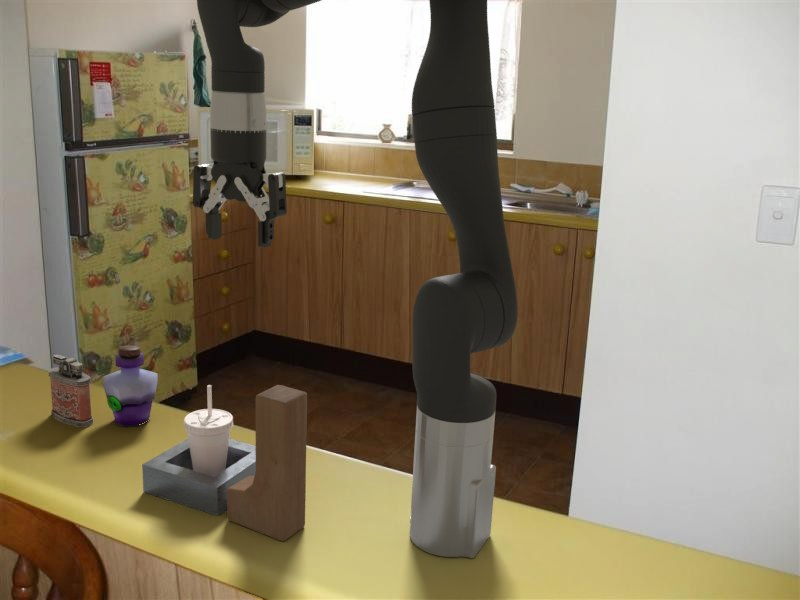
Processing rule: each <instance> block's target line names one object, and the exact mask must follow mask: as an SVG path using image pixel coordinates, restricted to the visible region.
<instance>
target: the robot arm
mask: <svg viewBox="0 0 800 600" xmlns="http://www.w3.org/2000/svg"><path fill="white" fill-rule="evenodd" d="M321 1H322V0H196V5H197V10H198V11H197V12H198V15H199V20H200V23H201V26H202V30H203V34H204V38H205V42H206V46H207V49H208V53H209V55H210V56H209V57H210V59H211V61H210V62H211V65H210V66H211V71H210V73H211V76H210V77H211V97H210V107H209V120H210V121H209V122H210V123H209V124H210V127H209V130H210V158H211V160H213V164H212V166H211V164H210V163H203V164H196V165H194V166H193V182H192V205H193V207H195V208H199V209H201V210H202V211H203V212H204V213H205V233H206V235H207V237H208V239H209V240H213V241H214V240H219V239H221V237H222V236H223V235H222V234H223V233H222V232H223V230H222V229H223V227H222V212H221V211H220V210H221V208H222V207H223V205H224V204H225V202H226V201H231V200H236V201H239V202H242V203H244V202H246V203H247V205H248V206H249V207H250V208H251V209H253V210H254V213H256V216H257V217H258V219H259V220H258V221H257V246H258V247H259V248H267V247H270V246H271V245H272V243H273V242H274V239H275V235H274V234H275V220H276V219H277V218H280V217H284V216H286V215H287V213H288V204H287V203H288V202H287V184H286V183H287V181H286V174H285V173H284V172H282V171H279V172H274V173H271V172H270V173H269V172H268V173H267V171H266V168H265V162H266V161H267V103H266V95H265V92H266V91H265V88H266V86H265V84H266V83H265V81H266V79H265V72H266V70H265V68H266V67H265V57H264V53H263V52H262V51H261V50H260V49H259V48H257V47H254V46H252V45H249V44H247V43H246V42H245V39H244V37H243V34H242V30H241V27H243V28H259V27H263V26H267V25H271V24H272V23H275V22H277V21H278V20H279V19H281V18H282V17H284V16H286V15H287V14H288V13H289V12H290V11H294V10H297V9H301V8H304V7H306V6H309V5H313V4H315V3H319V2H321ZM429 11H430V27H429V28H430V30H429V34H428V35H429V36H428V41H427V43H426V48H425V52H424V54H423V56H422V59H421V62H420V64H419V65H420V66H419V69H418V71H417V73H416V78H415V81H414V85H413V89H412V90H413V91H412V93H411V115H412V118H411V120H412V129H413V140H414V141H413V142H414V150H415V155H416V160H417V164H418V166H419V168H420V170H421V171H420V172H421V174H422V175H423V177H424V179H425V180H426V182H427V184H428V185H429V187H430V188H431V190H432V192H433V193H434V195H435V197H436V199H437V200H438V201H439V203H440V205H441V206H442V207H443V209H444V211H445V213H446V215H447V216H448V218H449V220H450V223H451V224H452V227H453V231H454V234H455V238H456V243H457V249H458V257H459V258H458V259H459V273H452V274H447V275H446V274H445V275H441V276H436V277H433V278H430V279H428V280H426V281H425V282H424V283H422V285H421V286H420V287H419V290H418V291H417V293H416V296H415V299H414V303H413V307H412V308H413V309H412V326H411V327H412V378H413V383H414V387H415V391H416V397H417V399H416V419H415V432H414V452H413V454H414V455H413V465H412V466H413V471H412V484H411V485H412V487H411V505H410V518H409V523H410V525H409V537H410V540H411V542H412V543H413V544H414V545H415V546H416V547H418V548H419V549H421V550H422V551H424V552H427V553H428V554H431V555H435V556H440V557H445V558H446V557H449V558H455V557H466V558H470V559H474V558H475V557H476V556H477V554H478V553H479V551H480V550H481V549H482V547H483V546H484V545H485V543H486V541H487V540H488V539H489V538H490V536H491V533H492V521H493V520H492V519H493V509H494V508H493V507H494V497H495V485H496V473H497V472H496V471H497V467H496V465H495V464H492V456H493V455H492V454H493V444H494V433H495V431H494V430H495V418H496V411H497V410H496V409H497V389H496V387H495V386H494V384H493V383H492V382H491V381H490V380H488V379H486V378H484V377H483V376H480V375H477V374H474V373H472V372H471V354H475V353H479V352H482V351H483V352H484V351H487V350H492V349H495V348H498V347H501V346H502V345H505V344H506V343H507V342H509V340H511V338H512V336H513V335H514V334H515V333H514V332H515V331H516V328H517V327H516V326H517V323H518V315H519V311H518V310H519V309H518V308H519V307H518V306H519V305H518V297H517V294H518V293H517V288H516V282H515V276H514V270H513V265H512V260H511V254H510V249H509V243H508V237H507V233H506V232H507V231H506V225H505V217H504V210H503V200H502V188H501V181H500V179H501V178H500V171H499V170H500V169H499V159H498V158H499V156H498V133H497V122H496V121H497V120H496V109H495V107H496V106H495V99H494V90H493V81H492V71H491V70H492V69H491V67H492V66H491V64H492V63H491V51H490V36H489V25H488V0H429ZM212 180H213V181H214V183H215V185H214V186H213V188H212V187H211V186H212ZM264 186H265V187H266V188H267V189H268V194H267V191H265V188H264ZM211 188H212V189H211Z"/></svg>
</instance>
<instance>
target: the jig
mask: <svg viewBox="0 0 800 600" xmlns="http://www.w3.org/2000/svg"><path fill="white" fill-rule="evenodd" d="M255 472H256V444H255V445H253V444H250V443H247V442H243V441H239V440H236V439H232V438H229V445H228V454H227V462H226V470H224V471H223V472H221V473H220V474H218V475H217V476H215V477H213V476H210V475H206V474H203V473H200V472H196V471H193V466H192V459H191V453H190V447H189V441H188V438H186V439H184V440H182V441H181V442H179V443H177V444H176V445H174V446H172V447H171V448H169V449H167V450H165V451H164V452H162V453H160V454H158V455H156V456H154V457H152V458H151V459H149V460H148V461H146V462H144V463H142V486H143V487H142V488H143V493H145V494H148V495H151V496H153V497H154V496H155V497H157V498H160V499H164V500H166V501H169V502H173V503H176V504H178V505H183V506H186V507H188V508H192V509H195V510H197V511H201V512H204V513H207V514H210V515H213V516H216V517H219V516H220V515H221V514H223V513H225V512H227V489H228V488H229V487H231V486H233V485H234V484H236V483H238V482H239V481H241V480H243V479H244V478H246V477H248V476H255Z"/></svg>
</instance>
